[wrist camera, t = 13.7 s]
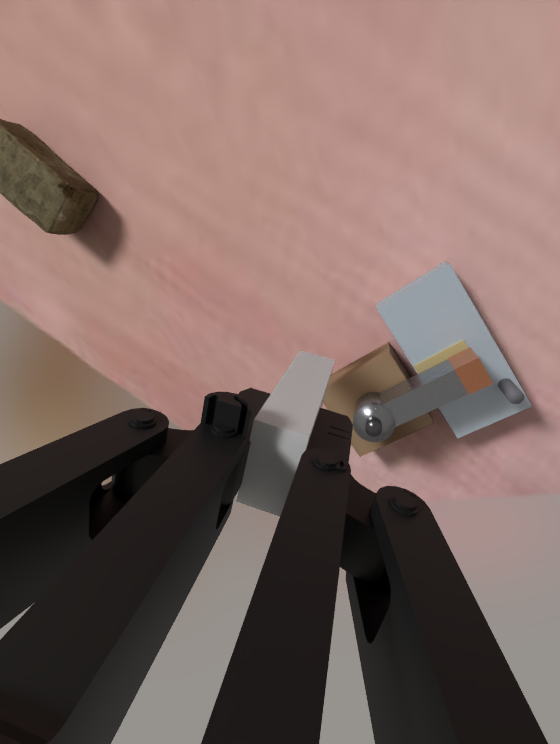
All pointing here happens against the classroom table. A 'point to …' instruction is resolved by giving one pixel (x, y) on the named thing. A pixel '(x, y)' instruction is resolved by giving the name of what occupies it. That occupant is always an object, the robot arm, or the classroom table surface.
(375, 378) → the block
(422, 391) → the latch bar
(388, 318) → the grey block with peg
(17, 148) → the stone block
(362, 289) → the classroom table surface
